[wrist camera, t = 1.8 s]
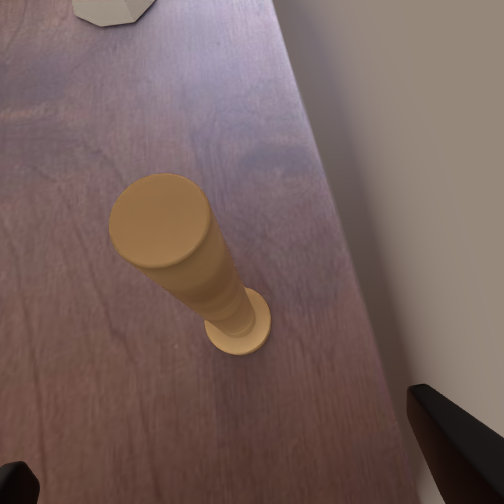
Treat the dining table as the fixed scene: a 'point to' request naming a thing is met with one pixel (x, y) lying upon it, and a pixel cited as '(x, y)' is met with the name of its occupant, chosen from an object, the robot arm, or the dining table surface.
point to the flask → (110, 10)
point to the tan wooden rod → (189, 258)
